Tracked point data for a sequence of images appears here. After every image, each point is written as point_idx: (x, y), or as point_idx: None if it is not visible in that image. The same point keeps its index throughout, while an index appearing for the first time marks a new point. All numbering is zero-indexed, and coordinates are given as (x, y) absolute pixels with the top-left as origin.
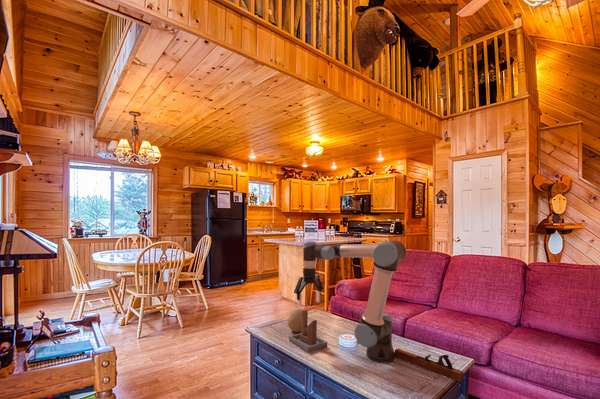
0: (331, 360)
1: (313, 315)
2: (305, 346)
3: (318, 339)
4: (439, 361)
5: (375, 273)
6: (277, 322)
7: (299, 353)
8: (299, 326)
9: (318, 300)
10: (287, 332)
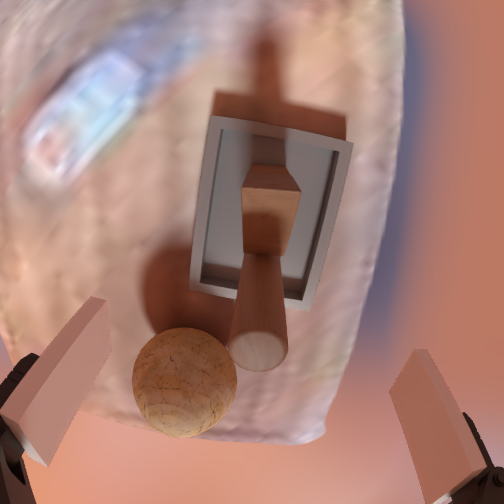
0: (317, 18)
1: None
2: (348, 164)
3: (212, 183)
4: None
5: None
6: None
7: (376, 169)
8: (207, 340)
9: (94, 325)
10: None
